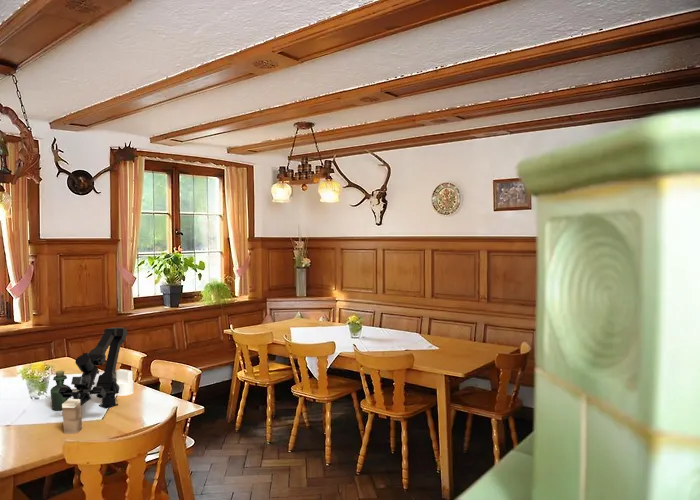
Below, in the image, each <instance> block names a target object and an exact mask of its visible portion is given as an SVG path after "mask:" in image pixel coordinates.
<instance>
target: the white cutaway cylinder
mask: <svg viewBox="0 0 700 500" xmlns="http://www.w3.org/2000/svg"><path fill="white" fill-rule="evenodd" d="M115 372H116V379H117V382H116V383H117V384H118V386H119V393H117V394H115V396H118V397H123V396H126V397H127V396H130V395H132V394H134V392H135V391H134V390H135V381H134V380H133V370H129V369H122V368H120V369H115Z"/></svg>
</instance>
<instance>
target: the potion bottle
mask: <svg viewBox="0 0 700 500" xmlns="http://www.w3.org/2000/svg"><path fill="white" fill-rule="evenodd" d="M66 379H68V377H67V375H65V370H57V371H55V375H54V376H53V379H52V380H53V381H55V384H56V385H54V386H52V387H51V389H50V399H51V408H52V409H51V410H52V411H54V412H62V404H63V403H64V402H65V401H67V400H68V399H70V398H63V397H62V396H61V395H60V394H59V393H58V390H59V388H60V387H62V386H68V385H67V384H64V383H65V381H66Z"/></svg>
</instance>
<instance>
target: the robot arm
mask: <svg viewBox="0 0 700 500" xmlns="http://www.w3.org/2000/svg"><path fill="white" fill-rule="evenodd" d="M127 336H128V330H127V329H126V327H107V328H104V330H103V334H102V336H101V338H100V339H99V341H98V343H97V345H96V346H95V347H94V348H91V350H89V351H88V352H83V353H82V355H79V356H78V357H77V358H76V359H75V361H74V363H75V364H76V366H77V367H78V369H79V371H80V372H82V374H81V375H80V376H72V379H71V384H70V385H74V386H73V387H74V388H72V387H70V385H67V386H62V387H60V388H59V390H58V393H59V394H60V395H61V396H62V397H63V398H69V399H71V398H72V399H80V405H81V407H82V406H83V405H84V404H86V403H87V402H88V401H89V400H92V395H96V398H98V399H101V404H98V406H99V407H101V408H103V409H108V408H112V407H116V406H118V405H119V403H117V402H116V395H115V394H117V393H119V386H118V384H117V383H116V382H117V379H116V377H115V372H116V370H117V369H116V367H117V364H118V360H119V353H120V349H121V346H122V345H123V343H124V342H125V341H126V338H127ZM107 350H108V352H107ZM106 352H107V355H106ZM106 356H107V357H106ZM104 363H105V365H104ZM102 365H104V370H103V372H102V373H101V374H100V371H99V368H98V367H97V366H102ZM97 375H98V378H97V382H96V383H95V379H96V377H97ZM95 384H96V386H95Z"/></svg>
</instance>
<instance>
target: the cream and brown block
mask: <svg viewBox="0 0 700 500" xmlns="http://www.w3.org/2000/svg"><path fill="white" fill-rule="evenodd" d="M81 408H82V406H81V405H80V399H74V398H69V399H68V400H67V401H65V402H64V403H63V404H62V411H61V412H62V424H63V426H62V427H63V434H64V435H65V434H70V435H71V434H72V435H74V434H75V435H76V434H77V433H78V432H79V431H80V430H82V429H83V421H82V409H81Z"/></svg>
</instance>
